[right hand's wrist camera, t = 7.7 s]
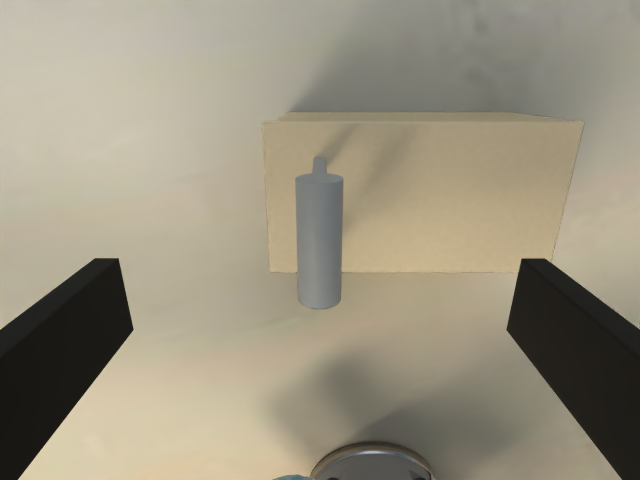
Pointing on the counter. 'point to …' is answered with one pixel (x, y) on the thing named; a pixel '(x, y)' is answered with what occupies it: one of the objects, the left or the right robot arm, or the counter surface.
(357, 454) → the left robot arm
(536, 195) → the lid
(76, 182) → the counter surface
